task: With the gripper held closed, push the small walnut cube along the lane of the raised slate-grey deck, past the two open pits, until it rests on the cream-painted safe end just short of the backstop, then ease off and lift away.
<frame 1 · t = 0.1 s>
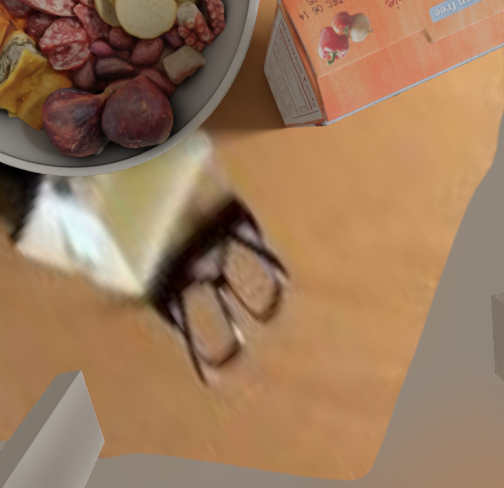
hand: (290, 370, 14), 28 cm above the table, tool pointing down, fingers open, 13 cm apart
cracker box: (345, 63, 38), on the table
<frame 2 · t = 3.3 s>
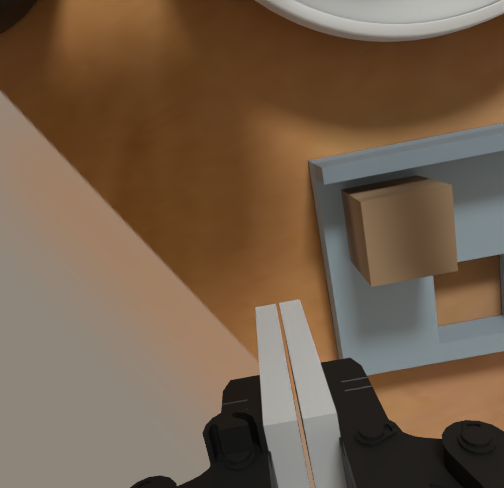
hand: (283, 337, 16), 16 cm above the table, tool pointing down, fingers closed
block: (382, 219, 29), point 2 cm above the table, touching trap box
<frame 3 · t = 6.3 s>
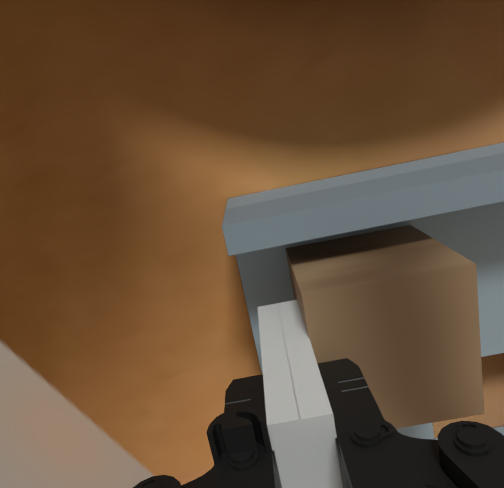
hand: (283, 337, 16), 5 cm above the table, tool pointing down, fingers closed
block: (355, 294, 18), point 3 cm above the table, touching gripper
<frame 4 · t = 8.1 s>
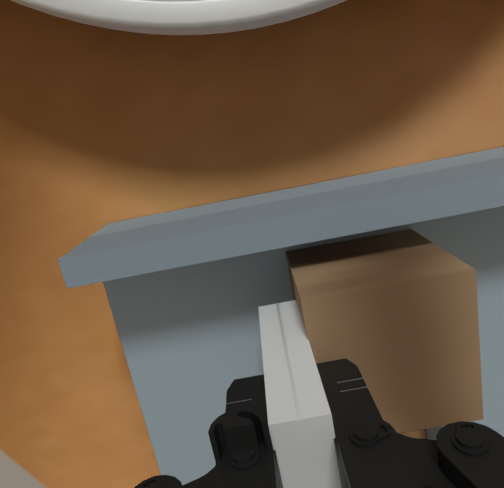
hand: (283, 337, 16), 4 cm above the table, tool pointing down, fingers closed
block: (355, 298, 18), point 2 cm above the table, touching gripper, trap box
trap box: (436, 328, 21), on the table
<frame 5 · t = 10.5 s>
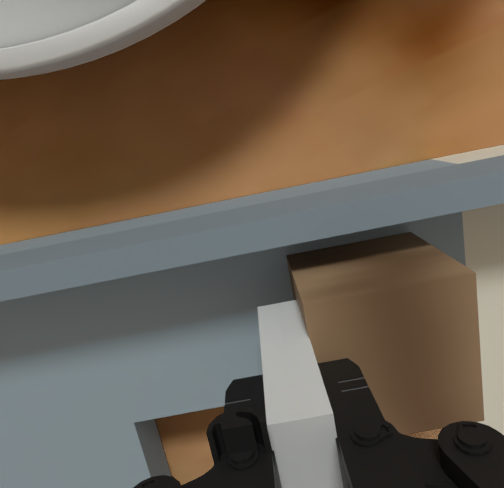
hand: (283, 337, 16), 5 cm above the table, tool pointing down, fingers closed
block: (356, 301, 18), point 3 cm above the table, touching gripper
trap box: (282, 354, 21), on the table
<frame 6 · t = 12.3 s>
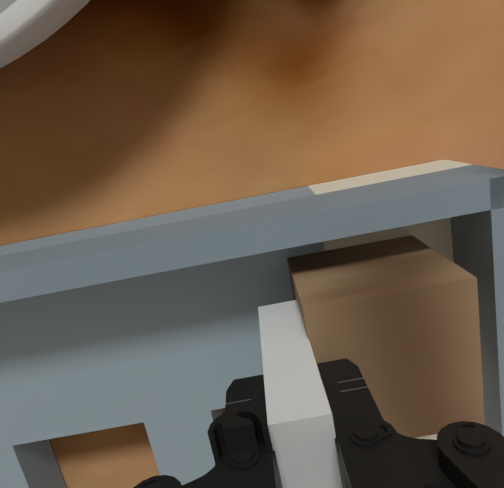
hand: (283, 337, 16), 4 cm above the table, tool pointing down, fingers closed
block: (356, 304, 18), point 2 cm above the table, touching gripper, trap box
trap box: (172, 377, 22), on the table
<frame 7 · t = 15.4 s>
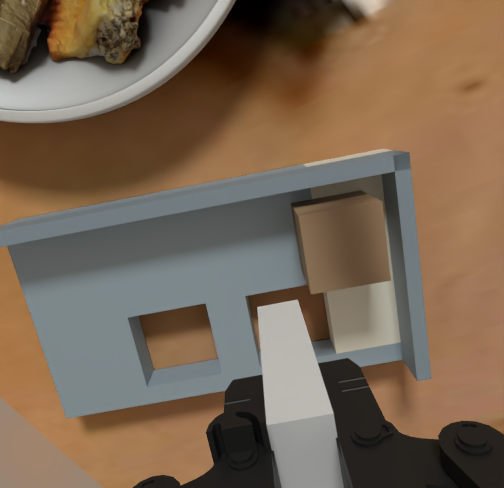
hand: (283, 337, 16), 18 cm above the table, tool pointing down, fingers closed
block: (330, 230, 31), point 2 cm above the table, touching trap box
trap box: (219, 283, 35), on the table
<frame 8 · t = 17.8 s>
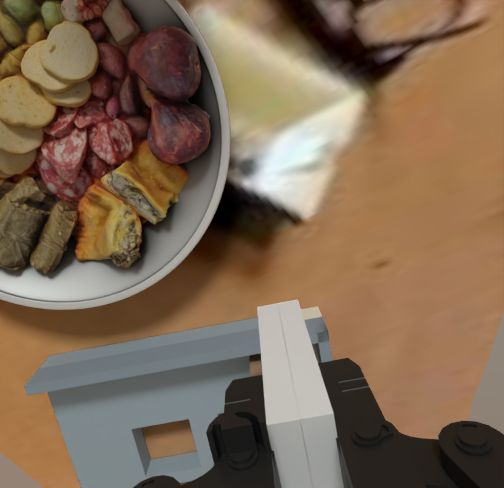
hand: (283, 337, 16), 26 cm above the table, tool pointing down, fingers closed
bowl: (68, 136, 40), on the table
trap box: (199, 398, 47), on the table
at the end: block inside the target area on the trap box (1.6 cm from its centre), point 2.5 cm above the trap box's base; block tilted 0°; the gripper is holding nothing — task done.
